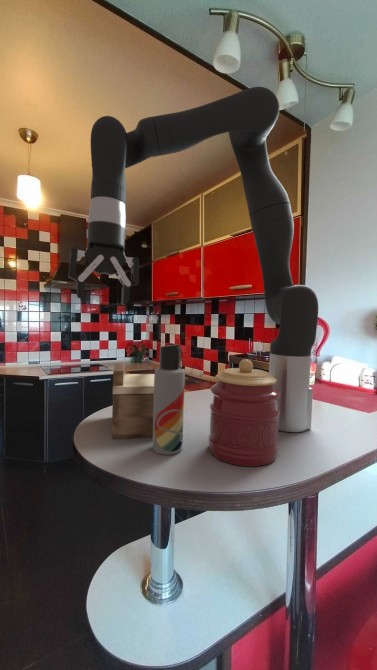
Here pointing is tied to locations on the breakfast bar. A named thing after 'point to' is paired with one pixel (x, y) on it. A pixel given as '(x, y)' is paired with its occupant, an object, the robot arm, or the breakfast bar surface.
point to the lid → (131, 382)
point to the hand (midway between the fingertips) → (103, 302)
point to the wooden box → (132, 416)
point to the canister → (244, 416)
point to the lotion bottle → (168, 402)
